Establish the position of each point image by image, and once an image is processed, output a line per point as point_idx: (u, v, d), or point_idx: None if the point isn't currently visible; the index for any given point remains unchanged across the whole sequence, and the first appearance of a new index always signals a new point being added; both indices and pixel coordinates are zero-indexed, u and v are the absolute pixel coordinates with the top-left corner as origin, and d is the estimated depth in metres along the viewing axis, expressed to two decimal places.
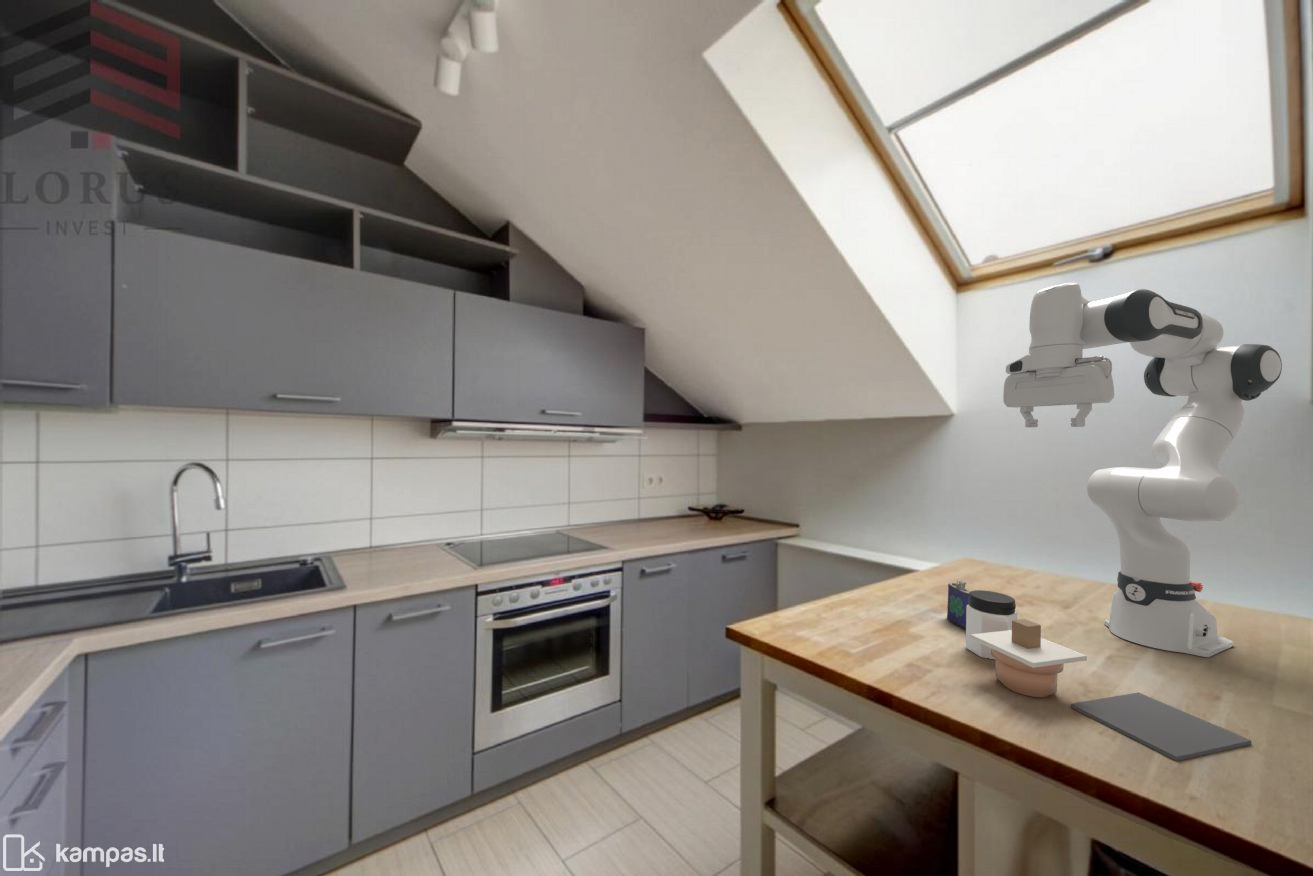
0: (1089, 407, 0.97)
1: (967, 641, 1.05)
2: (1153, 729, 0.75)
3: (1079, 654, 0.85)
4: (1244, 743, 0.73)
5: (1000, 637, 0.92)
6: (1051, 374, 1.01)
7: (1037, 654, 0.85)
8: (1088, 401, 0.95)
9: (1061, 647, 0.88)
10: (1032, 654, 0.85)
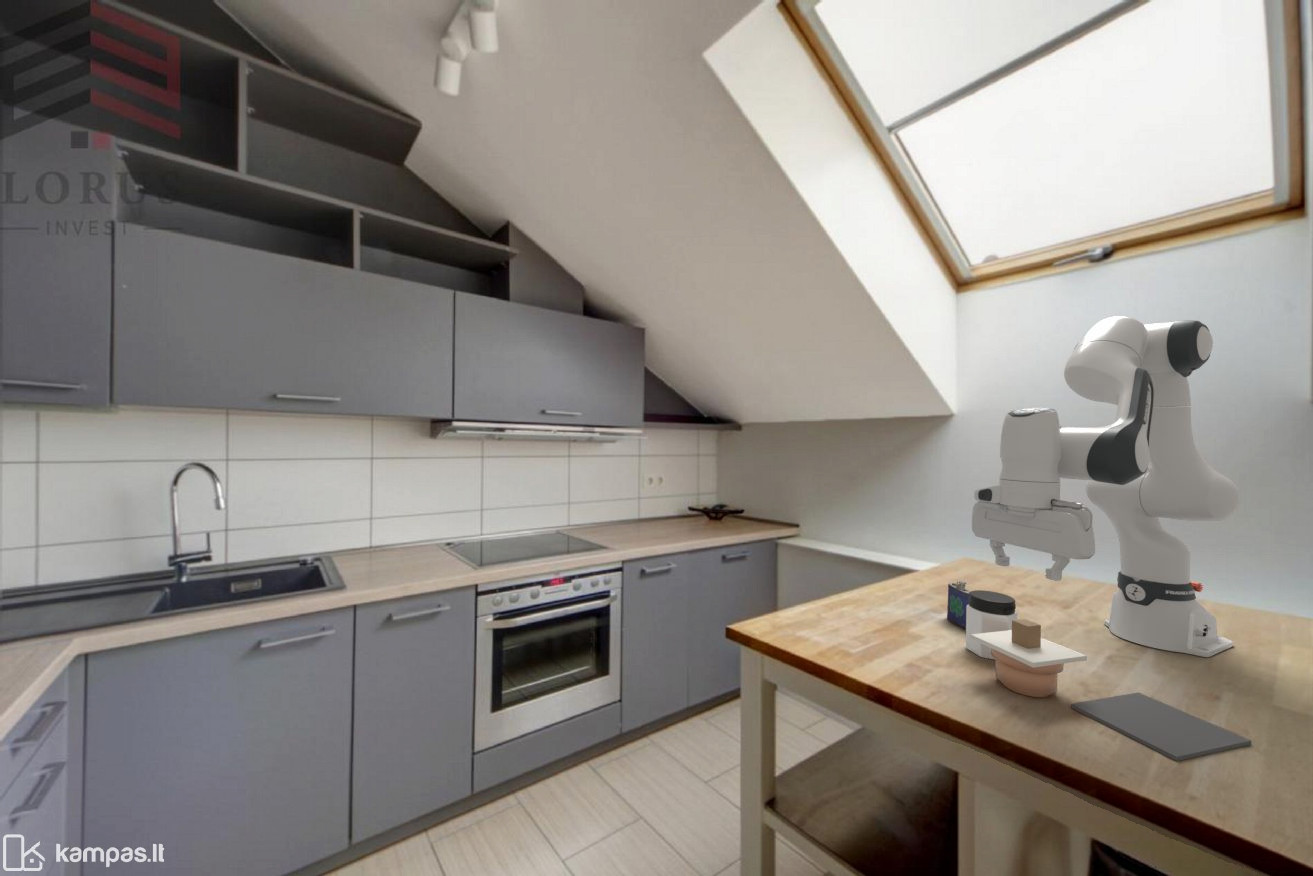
0: (1066, 559, 0.83)
1: (967, 641, 1.05)
2: (1153, 729, 0.75)
3: (1079, 654, 0.85)
4: (1244, 743, 0.73)
5: (1000, 637, 0.92)
6: (1023, 514, 0.87)
7: (1037, 654, 0.85)
8: (1065, 556, 0.81)
9: (1061, 647, 0.88)
10: (1032, 654, 0.85)
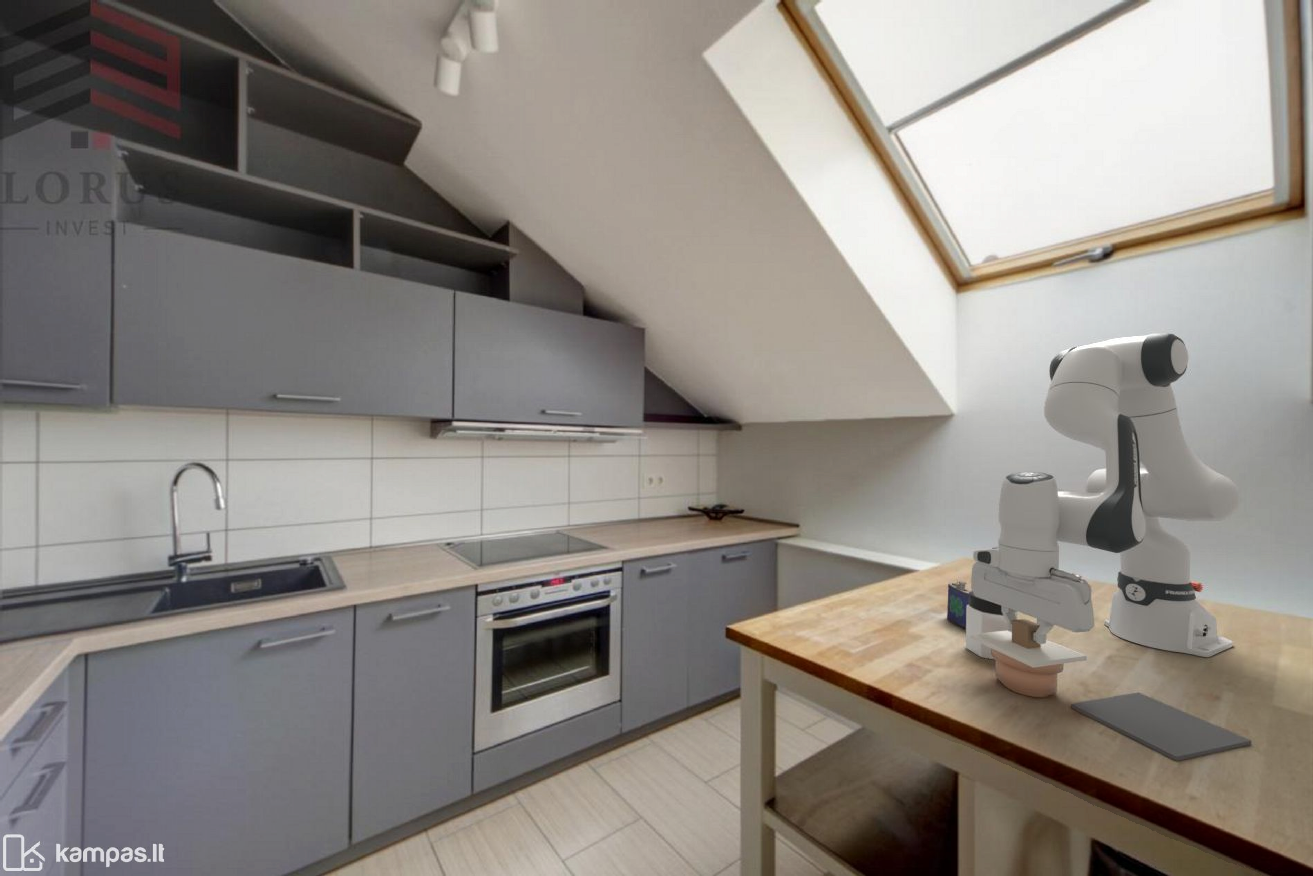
0: (1050, 624, 0.85)
1: (967, 641, 1.05)
2: (1153, 729, 0.75)
3: (1079, 654, 0.85)
4: (1244, 743, 0.73)
5: (1000, 637, 0.92)
6: (1022, 581, 0.87)
7: (1037, 654, 0.85)
8: (1064, 627, 0.81)
9: (1061, 647, 0.88)
10: (1033, 654, 0.85)
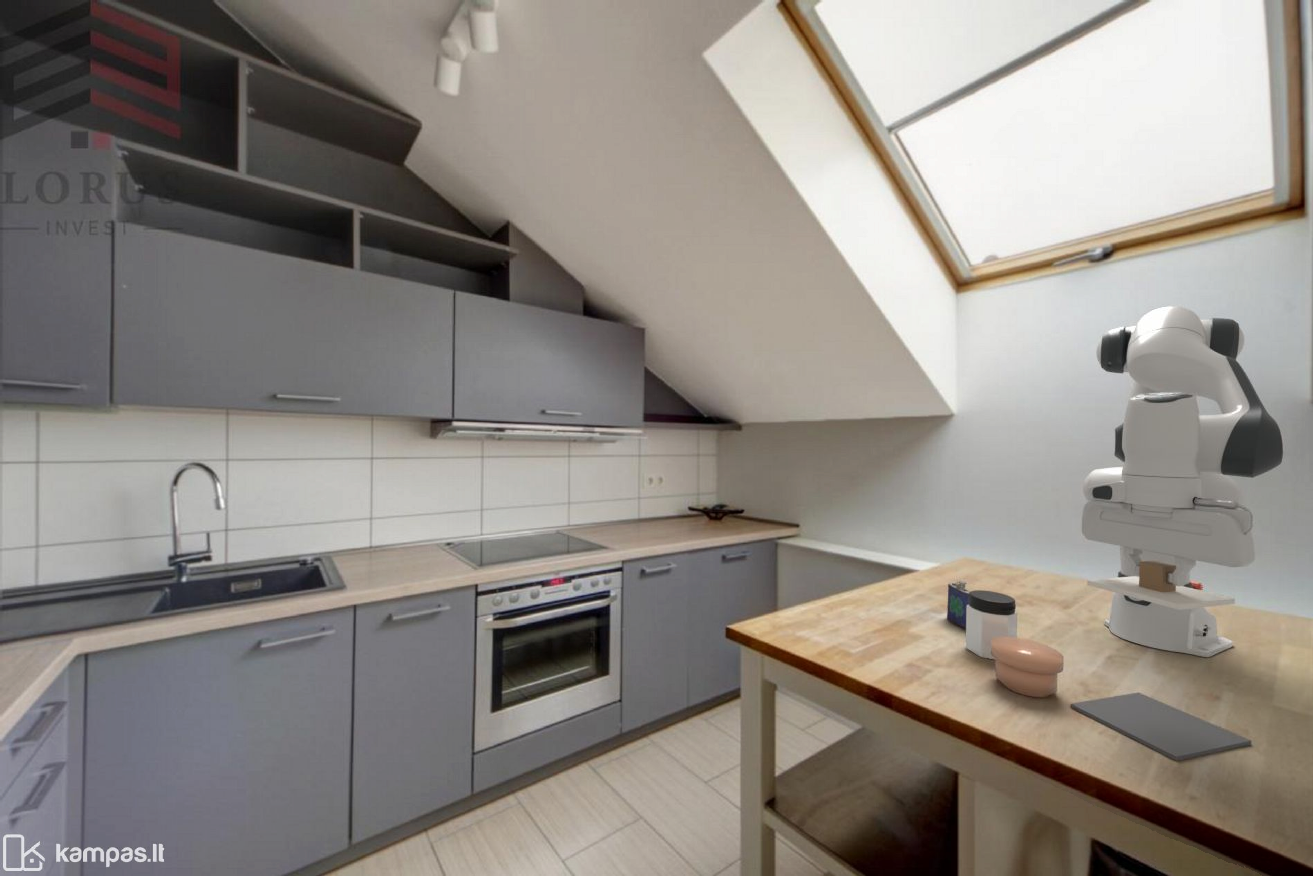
0: (1192, 562, 0.74)
1: (967, 641, 1.05)
2: (1153, 729, 0.75)
3: (1225, 597, 0.74)
4: (1244, 743, 0.73)
5: (1123, 582, 0.81)
6: (1157, 514, 0.76)
7: (1177, 597, 0.74)
8: (1216, 563, 0.70)
9: (1199, 591, 0.77)
10: (1172, 597, 0.74)
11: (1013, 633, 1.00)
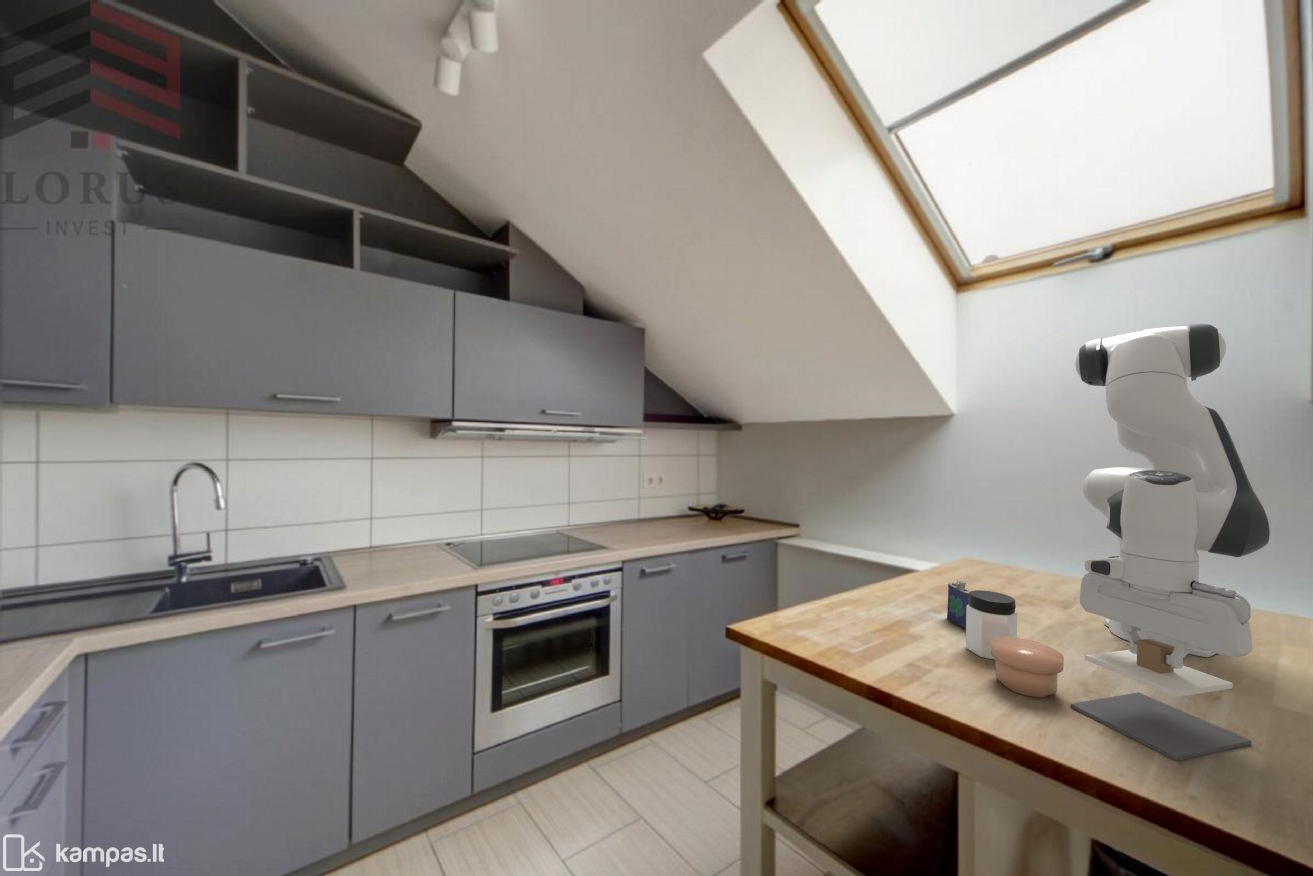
0: (1190, 646, 0.74)
1: (967, 641, 1.05)
2: (1153, 729, 0.75)
3: (1223, 681, 0.74)
4: (1244, 743, 0.73)
5: (1120, 659, 0.81)
6: (1155, 596, 0.76)
7: (1175, 680, 0.74)
8: (1214, 651, 0.70)
9: (1197, 672, 0.77)
10: (1169, 680, 0.74)
11: (1013, 633, 1.00)
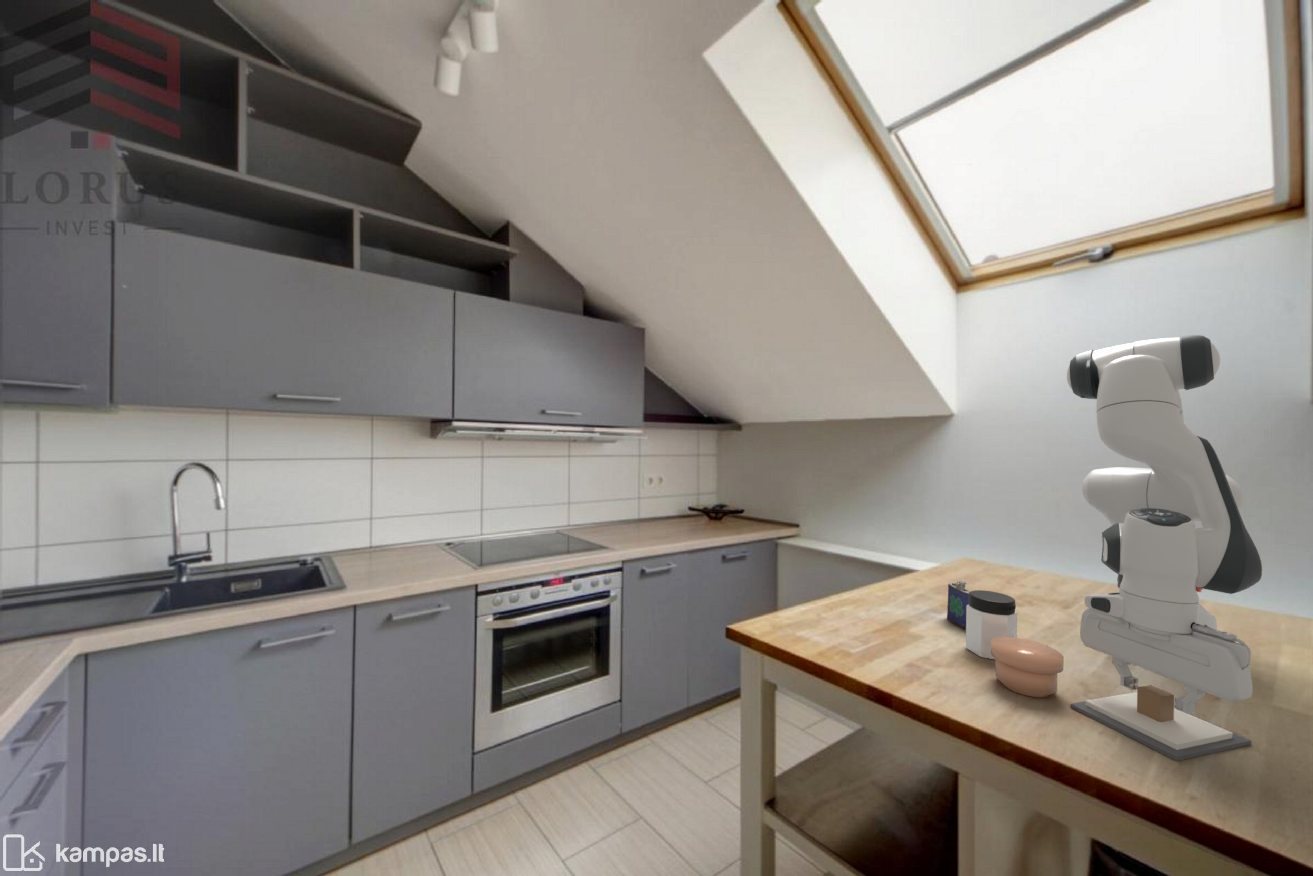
0: (1202, 691, 0.73)
1: (967, 641, 1.05)
2: None
3: (1223, 730, 0.74)
4: (1244, 743, 0.73)
5: (1121, 704, 0.81)
6: (1155, 636, 0.76)
7: (1175, 731, 0.74)
8: (1214, 694, 0.70)
9: (1197, 720, 0.77)
10: (1170, 730, 0.74)
11: (1013, 633, 1.00)
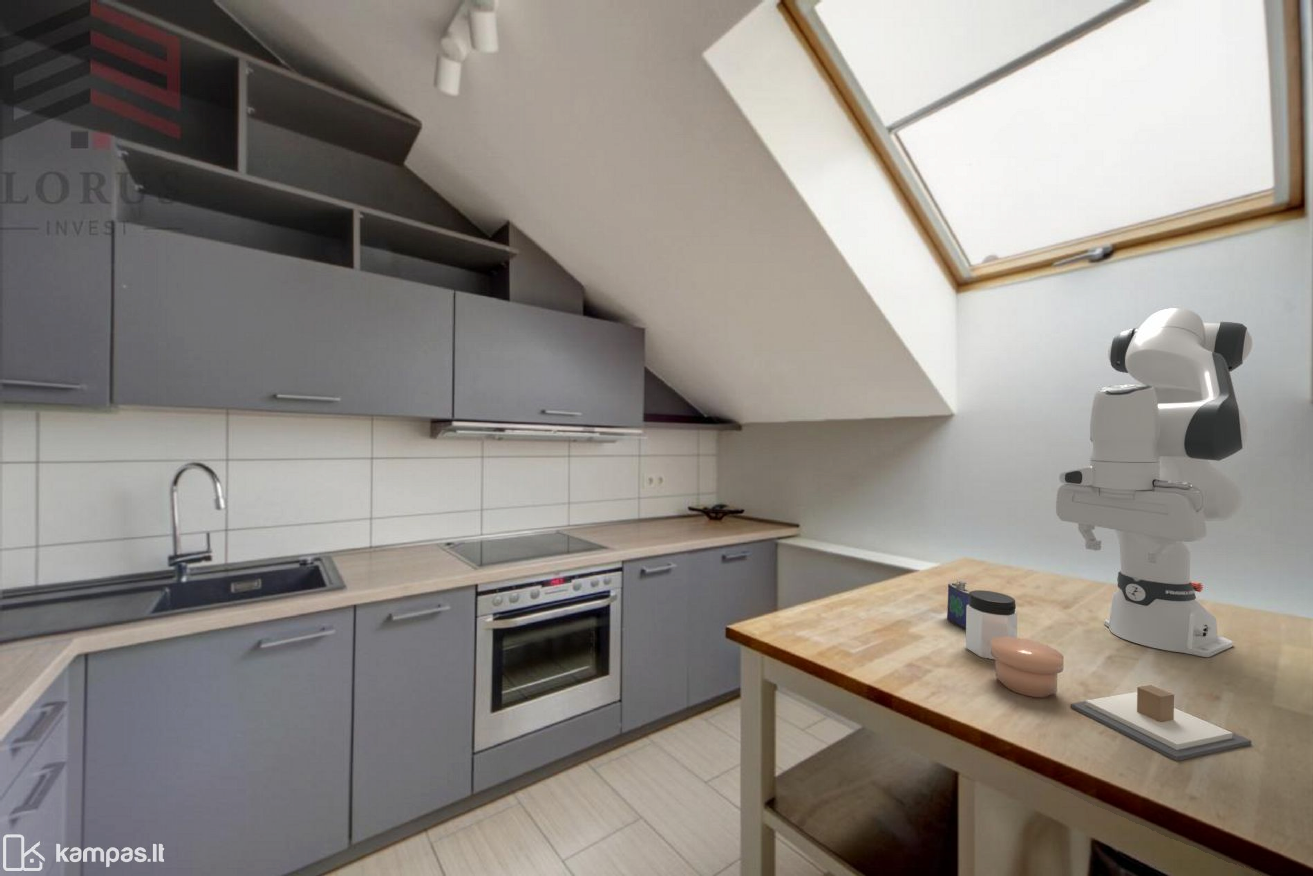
0: (1172, 542, 0.79)
1: (967, 641, 1.05)
2: None
3: (1223, 730, 0.74)
4: (1244, 743, 0.73)
5: (1121, 704, 0.81)
6: (1121, 496, 0.83)
7: (1175, 731, 0.74)
8: (1173, 538, 0.78)
9: (1197, 720, 0.77)
10: (1170, 730, 0.74)
11: (1013, 633, 1.00)
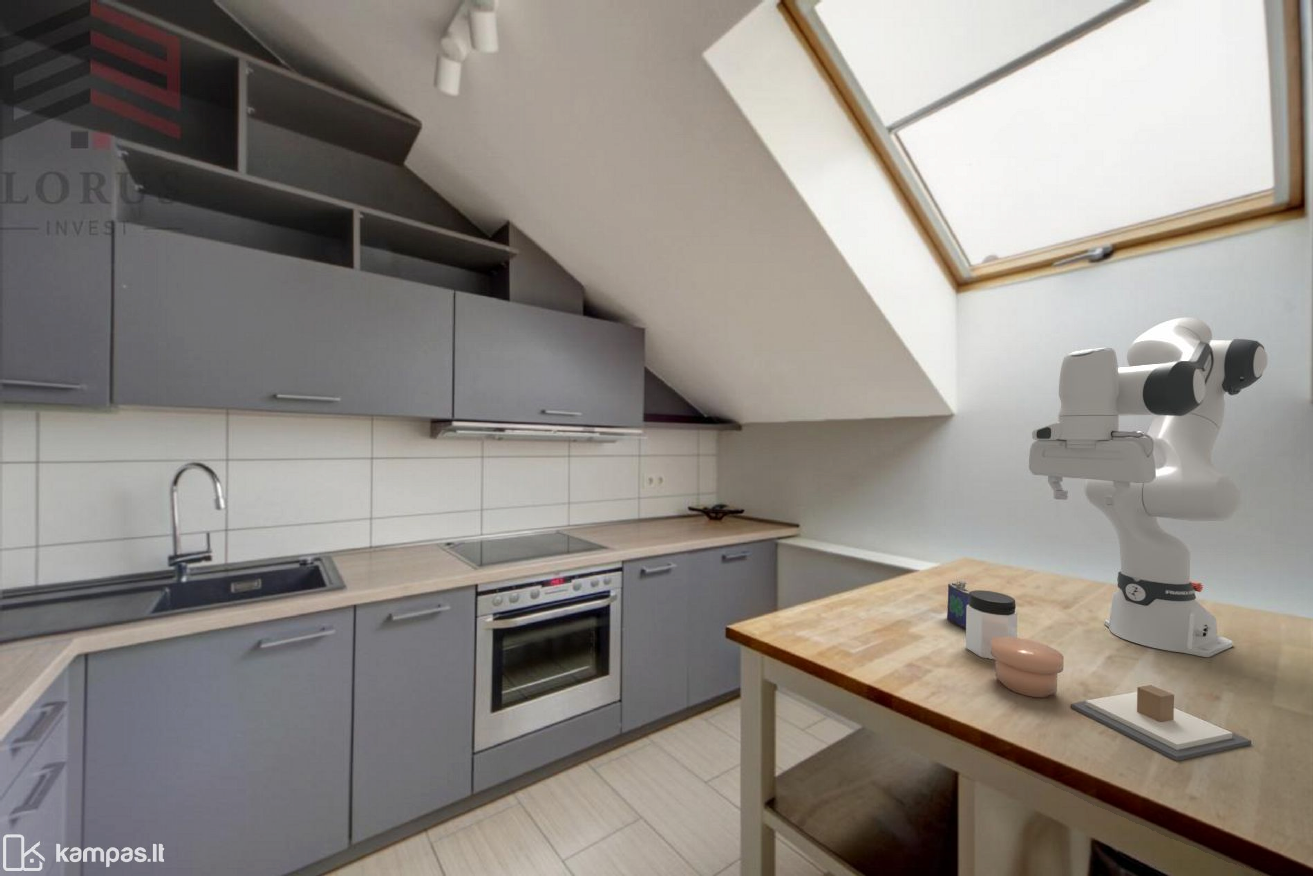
0: (1127, 485, 0.89)
1: (967, 641, 1.05)
2: None
3: (1223, 730, 0.74)
4: (1244, 743, 0.73)
5: (1121, 704, 0.81)
6: (1084, 446, 0.93)
7: (1175, 731, 0.74)
8: (1127, 481, 0.87)
9: (1197, 720, 0.77)
10: (1170, 730, 0.74)
11: (1013, 633, 1.00)
